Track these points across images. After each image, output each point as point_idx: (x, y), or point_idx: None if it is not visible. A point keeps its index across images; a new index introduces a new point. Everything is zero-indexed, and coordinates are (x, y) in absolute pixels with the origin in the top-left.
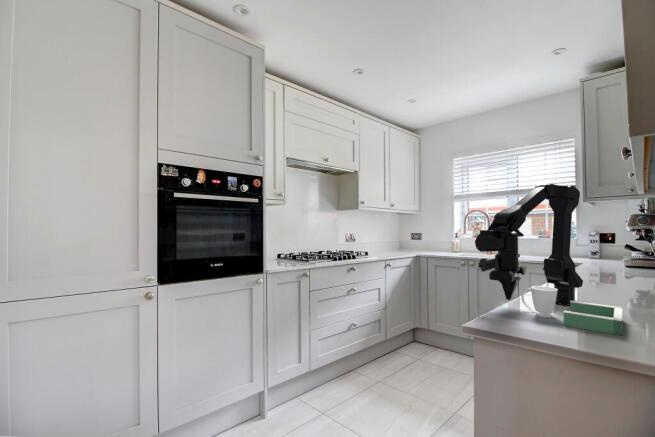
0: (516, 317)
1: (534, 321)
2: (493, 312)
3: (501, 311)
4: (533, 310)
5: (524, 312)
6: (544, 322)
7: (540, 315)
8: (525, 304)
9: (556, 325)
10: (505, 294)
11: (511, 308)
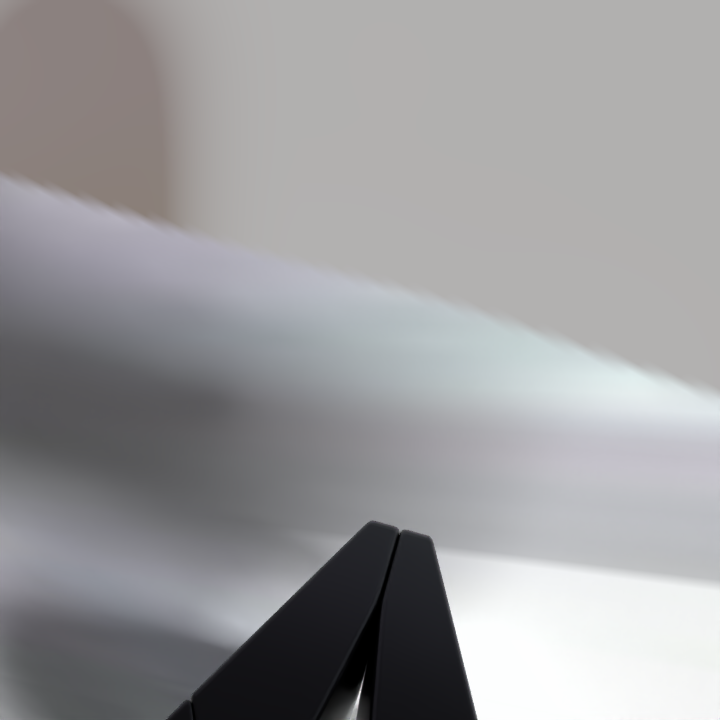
0: (23, 471)
1: (21, 596)
2: (21, 196)
3: (179, 313)
4: None
5: None
6: (59, 657)
7: None
8: None
9: (44, 705)
10: (292, 600)
11: (494, 461)
